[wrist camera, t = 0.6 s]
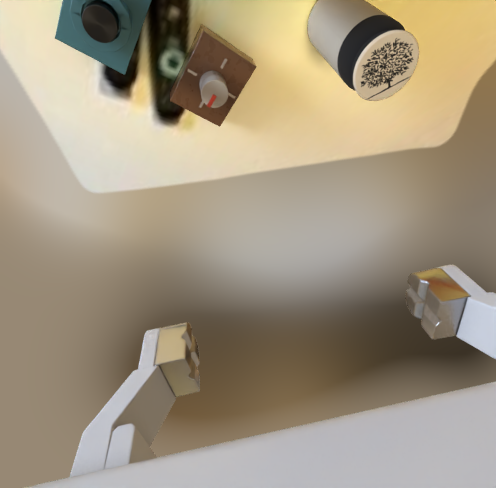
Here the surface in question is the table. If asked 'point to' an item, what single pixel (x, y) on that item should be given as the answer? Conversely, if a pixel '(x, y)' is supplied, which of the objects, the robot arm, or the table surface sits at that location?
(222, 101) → the dial knob
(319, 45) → the travel mug
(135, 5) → the button box
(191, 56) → the dial panel
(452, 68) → the table surface
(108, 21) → the button
